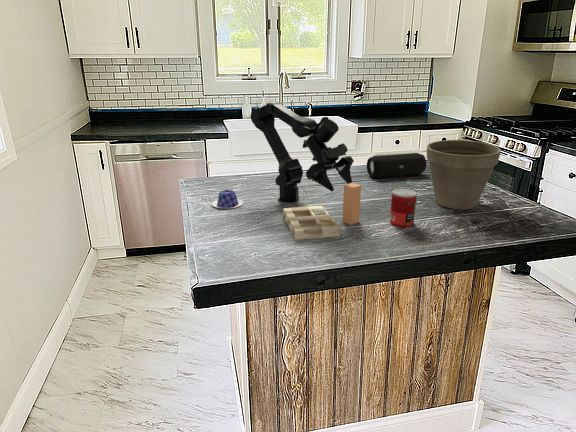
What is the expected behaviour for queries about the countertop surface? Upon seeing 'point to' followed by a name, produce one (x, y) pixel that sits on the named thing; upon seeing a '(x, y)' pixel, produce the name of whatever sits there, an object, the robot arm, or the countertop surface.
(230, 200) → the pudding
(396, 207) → the canned food
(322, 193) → the countertop surface
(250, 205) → the countertop surface
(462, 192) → the plant pot
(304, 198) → the countertop surface
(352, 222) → the plug
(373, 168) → the portable speaker
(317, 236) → the socket plate
